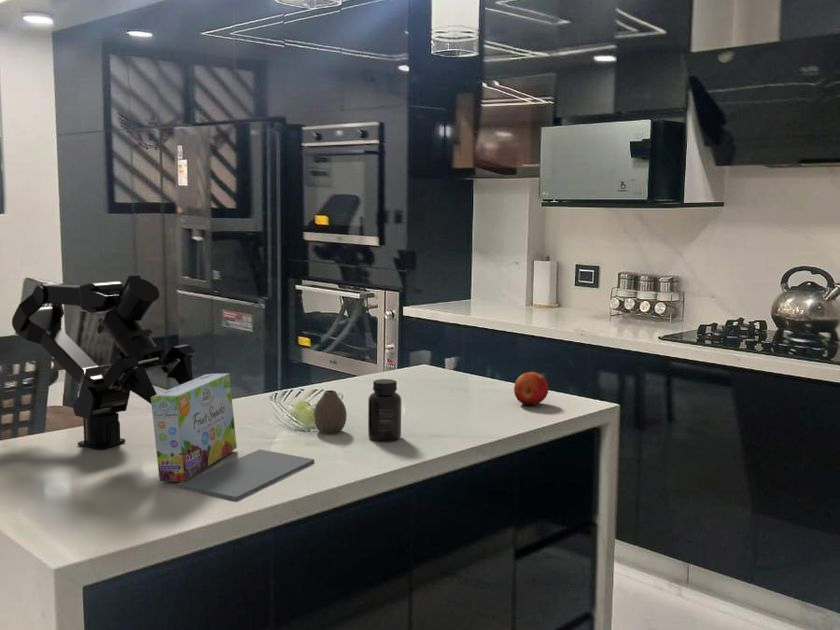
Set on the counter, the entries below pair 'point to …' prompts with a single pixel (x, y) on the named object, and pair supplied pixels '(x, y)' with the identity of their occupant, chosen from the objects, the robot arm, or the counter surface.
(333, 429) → the vase
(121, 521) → the counter surface
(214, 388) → the snack box
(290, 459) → the mat
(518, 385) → the apple
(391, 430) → the supplement bottle
